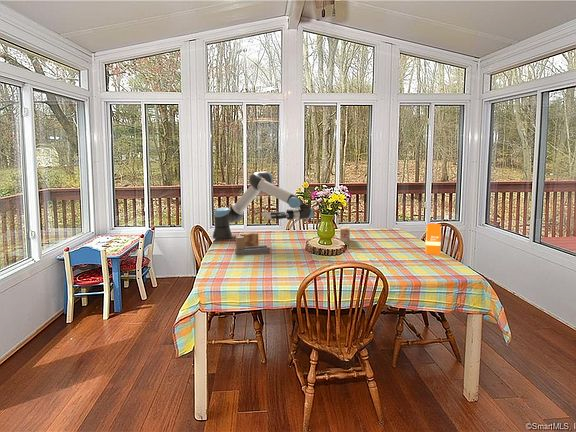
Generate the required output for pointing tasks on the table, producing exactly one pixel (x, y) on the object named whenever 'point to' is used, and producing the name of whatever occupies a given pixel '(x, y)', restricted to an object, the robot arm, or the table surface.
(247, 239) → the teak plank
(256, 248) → the base rail
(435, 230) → the orange juice
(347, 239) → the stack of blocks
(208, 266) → the table surface
